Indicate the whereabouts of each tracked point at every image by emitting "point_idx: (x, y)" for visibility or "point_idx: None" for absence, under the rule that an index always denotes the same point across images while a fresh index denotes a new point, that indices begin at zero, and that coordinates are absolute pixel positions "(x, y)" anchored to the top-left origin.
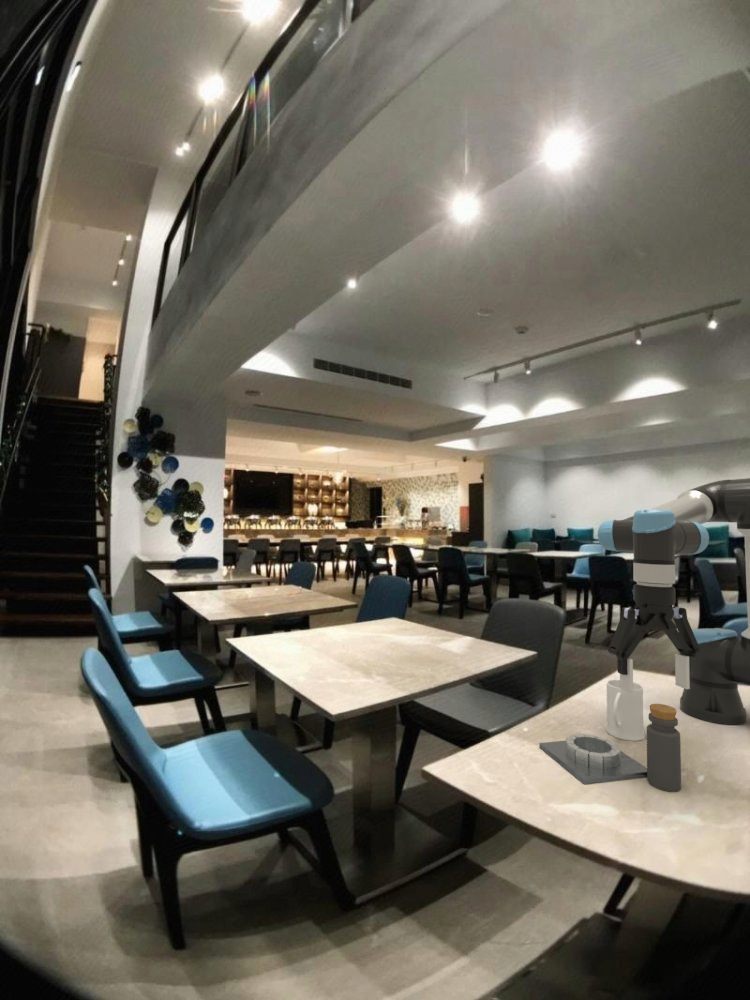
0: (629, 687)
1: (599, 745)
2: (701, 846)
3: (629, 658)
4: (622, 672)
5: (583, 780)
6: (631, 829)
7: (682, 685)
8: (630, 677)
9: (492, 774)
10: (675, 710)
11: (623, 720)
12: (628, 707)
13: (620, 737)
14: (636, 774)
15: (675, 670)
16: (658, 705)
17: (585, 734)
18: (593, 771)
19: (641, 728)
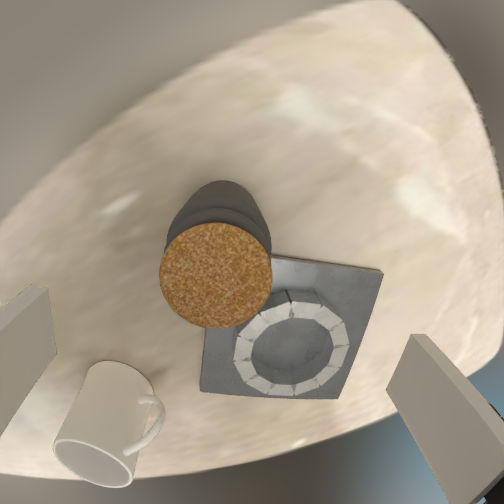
0: (439, 349)
1: (252, 359)
2: (354, 53)
3: (495, 477)
4: (491, 406)
5: (381, 274)
6: (419, 135)
7: (45, 319)
8: (464, 380)
9: (461, 334)
10: (184, 236)
11: (132, 402)
12: (115, 418)
13: (146, 380)
14: None
15: (21, 402)
16: (208, 306)
17: (263, 390)
18: (343, 291)
19: (97, 376)
